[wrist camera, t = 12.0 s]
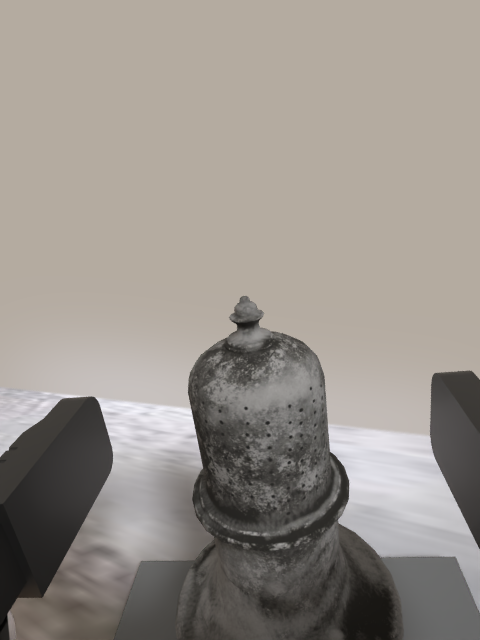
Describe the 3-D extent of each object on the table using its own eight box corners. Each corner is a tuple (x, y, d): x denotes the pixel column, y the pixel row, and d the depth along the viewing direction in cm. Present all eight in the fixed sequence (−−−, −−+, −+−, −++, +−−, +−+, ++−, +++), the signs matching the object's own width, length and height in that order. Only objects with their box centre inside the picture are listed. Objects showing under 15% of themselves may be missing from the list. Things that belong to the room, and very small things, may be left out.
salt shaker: (193, 609, 15) (113, 282, 11) (353, 571, 16) (336, 246, 11) (203, 860, 10) (50, 400, 5) (450, 790, 10) (485, 320, 6)
